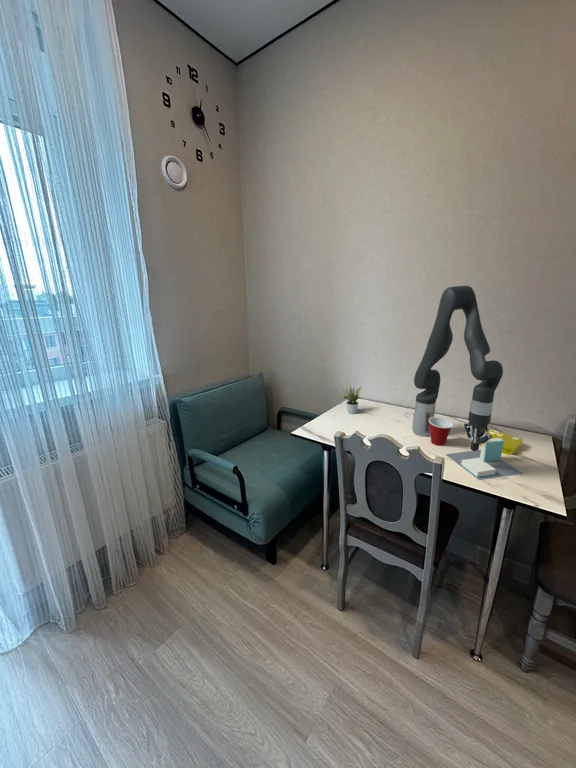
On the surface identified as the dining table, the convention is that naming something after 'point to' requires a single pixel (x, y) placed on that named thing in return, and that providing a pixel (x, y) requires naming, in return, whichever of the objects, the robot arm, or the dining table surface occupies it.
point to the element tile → (506, 441)
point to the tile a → (478, 467)
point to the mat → (499, 465)
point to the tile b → (492, 450)
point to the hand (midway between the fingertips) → (474, 450)
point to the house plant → (352, 400)
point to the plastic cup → (439, 430)
